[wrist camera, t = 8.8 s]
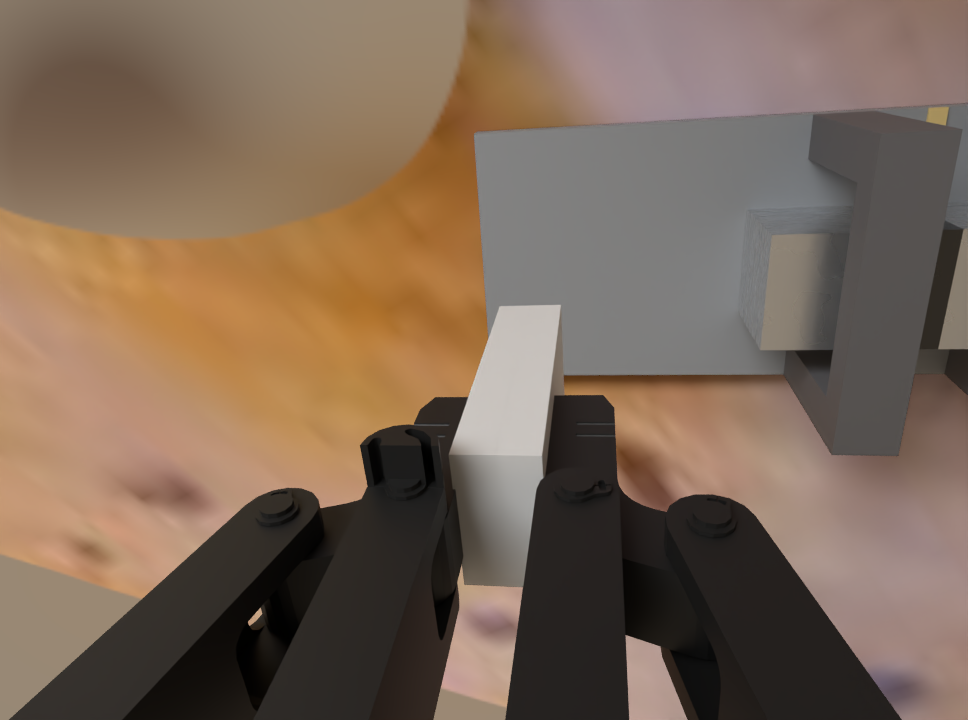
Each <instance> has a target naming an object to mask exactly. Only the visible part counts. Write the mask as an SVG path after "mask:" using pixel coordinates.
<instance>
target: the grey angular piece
mask: <svg viewBox="0 0 968 720" xmlns="http://www.w3.org/2000/svg"><path fill="white" fill-rule="evenodd" d="M474 141H475V155H476V169H477V184H478V198H479V212H480V226H481V240H482V255H483V269H484V283H485V297H486V311H487V326H488V339H489V336H490V333H491V330H492V327H493V324H494V321H495V318H496V315H497V313H498V310H499V307H500V306H530V305H561V315H562V343H563V370H564V375H774V374H783V375H784V376H785V378H786V380H787V381H788V383H789V385H790V386H791V388H792V390H793V391H794V393H795V395H796V396H797V398H798V400H799V401H800V403H801V405H802V406H803V408H804V410H805V411H806V413H807V415H808V416H809V418H810V420H811V421H812V423H813V424H814V426H815V428H816V429H817V431H818V433H819V434H820V436H821V438H822V439H823V441H824V443H825V444H826V446H827V448H828V449H829V451H830V453H831V454H832V455H873V456H898V454H899V449H900V444H901V439H902V434H903V429H904V424H905V419H906V414H907V409H908V404H909V399H910V394H911V389H912V384H913V379H914V374H945V375H946V376H947V377H948V378H949V379H951V380H952V381H953V382H954V383H955V384H956V385H957V386H958V387H959V388H960V389H962V390H963V391H964V392H965V393H966V394H967V395H968V349H919V348H920V343H921V338H922V333H923V328H924V323H925V318H926V313H927V308H928V303H929V298H930V293H931V287H932V282H933V277H934V272H935V267H936V262H937V257H938V252H939V247H940V242H941V237H942V232H943V227H944V222H945V217H946V212H947V207H948V202H962V201H968V103H964V104H947V105H930V106H913V107H895V108H878V109H861V110H844V111H826V112H809V113H792V114H775V115H757V116H740V117H723V118H706V119H689V120H671V121H654V122H637V123H620V124H602V125H585V126H568V127H551V128H533V129H516V130H499V131H482V132H476V133H475V134H474ZM850 205H854V208H853V215H852V222H851V229H850V236H849V243H848V250H847V257H846V264H845V271H844V278H843V285H842V292H841V299H840V305H839V312H838V319H837V326H836V333H835V340H834V347H833V350H760V349H759V347H758V346H757V344H756V342H755V340H754V339H753V337H752V335H751V333H750V332H749V330H748V328H747V326H746V325H745V323H744V321H743V319H742V318H741V316H740V314H739V312H738V300H739V288H740V276H741V265H742V253H743V241H744V230H745V218H746V209H766V208H794V207H822V206H850Z"/></svg>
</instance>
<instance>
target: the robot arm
mask: <svg viewBox="0 0 968 720" xmlns="http://www.w3.org/2000/svg"><path fill="white" fill-rule="evenodd" d="M360 448H361V453H362V458H363V464H364V469H365V475H366V480H367V485H368V487H367V489H366V491H365V493H364V495H363V497H362V499H360V500H358V501H354V502H350V503H347V504H342V505H336V506H331V507H326V508H320V505H319V501H318V499H317V498H316V496H315V495H314V494H313V493H312V492H309V491H307V490H304V489H300V488H285V489H280V490H279V489H278V490H274V491H271V492H268V493H266V494H263V495H261V496H258V497H257V498H255V499H254V500H252V501H251V502H250V503H248V504H247V505H245V506H244V507H243V508H242V509H241V510H240V511H239V512H238V513H237V514H235V515H234V516H233V517H232V518H231V519H230V520H229V521H228V522H227V523H226V524H224V525H223V526H222V527H221V528H220V529H219V530H218V531H217V532H216V533H214V534H213V535H212V536H211V537H210V538H209V539H208V540H207V541H206V542H205V543H203V544H202V545H201V546H200V547H199V548H198V549H197V550H196V551H195V552H194V553H192V554H191V555H190V556H189V557H188V558H187V559H186V560H185V561H184V562H182V563H181V564H180V565H179V566H178V567H177V568H176V569H175V570H174V571H173V572H171V573H170V574H169V575H168V576H167V577H166V578H165V579H164V580H163V581H162V582H160V583H159V584H158V585H157V586H156V587H155V588H154V589H153V590H152V591H150V592H149V593H148V594H147V595H146V596H145V597H144V598H143V599H142V600H141V601H139V602H138V603H137V604H136V605H135V606H134V607H133V608H132V609H131V610H130V611H129V612H127V614H125V615H124V616H123V617H122V618H121V619H120V620H118V621H117V623H115V624H114V625H113V626H112V627H111V628H110V629H109V630H107V631H106V632H105V633H104V634H103V635H102V636H101V637H100V638H99V639H98V640H96V641H95V642H94V643H93V644H92V645H91V646H90V647H89V648H88V649H87V650H85V651H84V652H83V653H82V654H81V655H80V656H79V657H78V658H77V659H75V661H73V662H72V663H71V664H70V665H69V666H68V667H67V668H66V669H65V670H63V672H61V673H60V674H59V675H58V676H57V677H56V678H55V679H53V680H52V681H51V682H50V683H49V684H48V685H47V686H46V687H45V688H43V689H42V690H41V691H40V692H39V693H38V694H37V695H36V696H35V697H34V698H32V699H31V700H30V701H29V702H28V703H27V704H26V705H25V706H24V707H23V708H22V709H20V710H19V711H18V712H17V713H16V714H15V715H14V716H13V717H11V718H10V719H9V720H433V718H434V714H435V710H436V705H437V701H438V697H439V692H440V688H441V684H442V680H443V675H444V671H445V667H446V662H447V658H448V654H449V649H450V645H451V641H452V637H453V632H454V628H455V624H456V619H457V615H458V611H459V593H458V585H457V581H458V577H459V573H460V569H461V565H462V569H463V577H464V585H484V586H506V587H523V592H522V600H521V607H520V614H519V622H518V629H517V637H516V644H515V652H514V659H513V666H512V674H511V681H510V689H509V696H508V704H507V711H506V719H505V720H629V706H628V683H627V660H626V637H625V635H628V636H631V637H634V638H637V639H640V640H643V641H646V642H649V643H652V644H655V645H658V646H661V652H662V657H663V660H664V662H665V665H666V667H667V670H668V672H669V675H670V677H671V680H672V682H673V685H674V687H675V690H676V692H677V695H678V697H679V700H680V702H681V705H682V707H683V710H684V712H685V714H686V717H687V719H688V720H902V719H901V718H900V717H899V715H898V714H897V713H896V711H895V710H894V708H893V707H892V706H891V704H890V703H889V701H888V700H887V699H886V697H885V696H884V694H883V693H882V692H881V690H880V689H879V687H878V686H877V685H876V683H875V682H874V680H873V679H872V678H871V676H870V675H869V673H868V672H867V671H866V669H865V668H864V667H863V665H862V664H861V662H860V661H859V660H858V658H857V657H856V655H855V654H854V653H853V651H852V650H851V648H850V647H849V646H848V644H847V643H846V641H845V640H844V639H843V637H842V636H841V634H840V633H839V632H838V630H837V629H836V628H835V626H834V625H833V623H832V622H831V621H830V619H829V618H828V616H827V615H826V614H825V612H824V611H823V609H822V608H821V607H820V605H819V604H818V602H817V601H816V600H815V598H814V597H813V595H812V594H811V593H810V591H809V590H808V588H807V587H806V586H805V584H804V583H803V582H802V580H801V579H800V577H799V576H798V575H797V573H796V572H795V570H794V569H793V568H792V566H791V565H790V563H789V562H788V561H787V559H786V558H785V556H784V555H783V554H782V552H781V551H780V549H779V548H778V547H777V545H776V544H775V543H774V541H773V540H772V538H771V537H770V536H769V534H768V533H767V531H766V530H765V529H764V527H763V526H762V524H761V523H760V522H759V520H758V519H757V517H756V516H755V515H754V514H753V513H752V512H751V511H750V510H749V509H748V508H746V507H745V506H744V505H742V504H740V503H738V502H736V501H734V500H732V499H730V498H725V497H721V496H716V495H692V496H688V497H684V498H680V499H679V500H677V501H676V502H674V503H673V504H672V505H670V506H669V508H668V511H667V512H664V511H660V510H656V509H652V508H649V507H646V506H643V505H641V504H639V503H637V502H635V501H633V500H631V499H630V498H629V497H628V496H627V495H625V494H624V493H623V491H622V490H621V488H620V487H619V484H618V480H617V461H616V439H615V417H614V407H613V406H612V405H611V404H610V403H609V401H608V400H607V399H606V398H605V397H604V396H603V395H564V370H563V343H562V315H561V305H530V306H500V307H499V310H498V313H497V315H496V318H495V321H494V324H493V327H492V330H491V333H490V336H489V339H488V342H487V345H486V347H485V350H484V353H483V356H482V359H481V362H480V365H479V368H478V371H477V374H476V376H475V379H474V382H473V385H472V388H471V391H470V394H469V397H435V398H434V399H433V400H432V401H430V402H429V403H428V404H427V405H425V406H424V407H423V408H422V409H420V411H419V414H418V416H417V418H416V420H415V422H414V425H399V426H392V427H389V428H385V429H382V430H379V431H377V432H375V433H374V434H372V435H370V436H368V437H367V438H366V439H365V440H364V441H363V442H362V444H361V445H360ZM260 607H261V610H262V615H261V616H260V617H259V618H258V620H257V621H256V622H254V623H253V624H252V625H251V626H249V625H248V621H249V620H250V619H251V617H252V616H253V615H254V614H255V613H256V612H257V611H258V610H259V608H260Z"/></svg>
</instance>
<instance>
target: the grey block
mask: <svg viewBox="0 0 968 720" xmlns="http://www.w3.org/2000/svg"><path fill="white" fill-rule="evenodd" d="M853 208H854V205H850V206H822V207H794V208H766V209H746V218H745V230H744V241H743V253H742V265H741V276H740V288H739V300H738V312H739V314H740V316H741V318H742V319H743V321H744V323H745V325H746V326H747V328H748V330H749V332H750V333H751V335H752V337H753V339H754V340H755V342H756V344H757V346H758V347H759V349H760V350H833V347H834V340H835V333H836V326H837V319H838V312H839V305H840V299H841V292H842V285H843V278H844V271H845V264H846V257H847V250H848V243H849V236H850V229H851V222H852V215H853ZM919 349H968V201H962V202H948V207H947V212H946V217H945V222H944V227H943V232H942V237H941V242H940V247H939V252H938V257H937V262H936V267H935V272H934V277H933V282H932V287H931V293H930V298H929V303H928V308H927V313H926V318H925V323H924V328H923V333H922V338H921V343H920V348H919Z"/></svg>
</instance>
